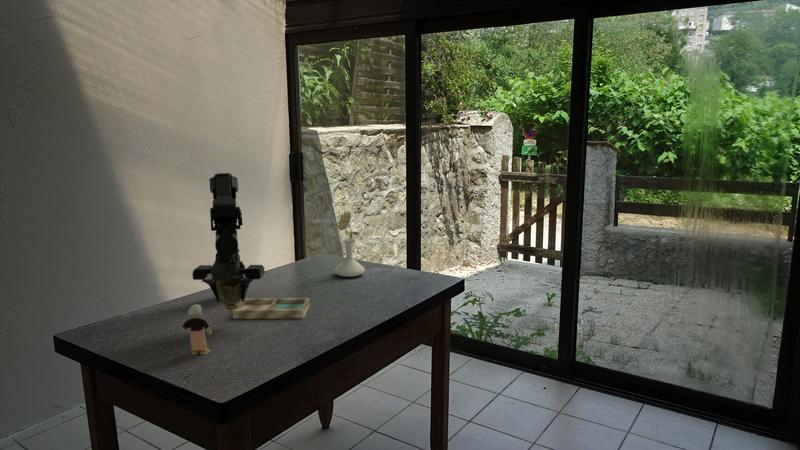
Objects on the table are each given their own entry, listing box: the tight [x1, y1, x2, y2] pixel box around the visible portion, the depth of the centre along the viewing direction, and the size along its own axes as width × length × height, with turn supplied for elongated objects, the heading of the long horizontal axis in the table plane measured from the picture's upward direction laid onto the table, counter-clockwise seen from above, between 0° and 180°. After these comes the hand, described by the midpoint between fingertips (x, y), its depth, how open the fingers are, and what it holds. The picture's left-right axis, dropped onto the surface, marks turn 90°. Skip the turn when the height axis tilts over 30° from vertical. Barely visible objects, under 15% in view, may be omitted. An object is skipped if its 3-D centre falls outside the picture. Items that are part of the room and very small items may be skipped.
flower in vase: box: [334, 210, 366, 278], centre depth 208 cm, size 13×11×25 cm
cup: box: [216, 278, 242, 311], centre depth 159 cm, size 8×7×8 cm
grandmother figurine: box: [180, 303, 213, 356], centre depth 141 cm, size 8×4×13 cm, turn 98°
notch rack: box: [232, 297, 311, 320], centre depth 171 cm, size 21×11×2 cm, turn 90°
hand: (230, 301), depth 159 cm, fingers closed on cup, 6 cm apart
